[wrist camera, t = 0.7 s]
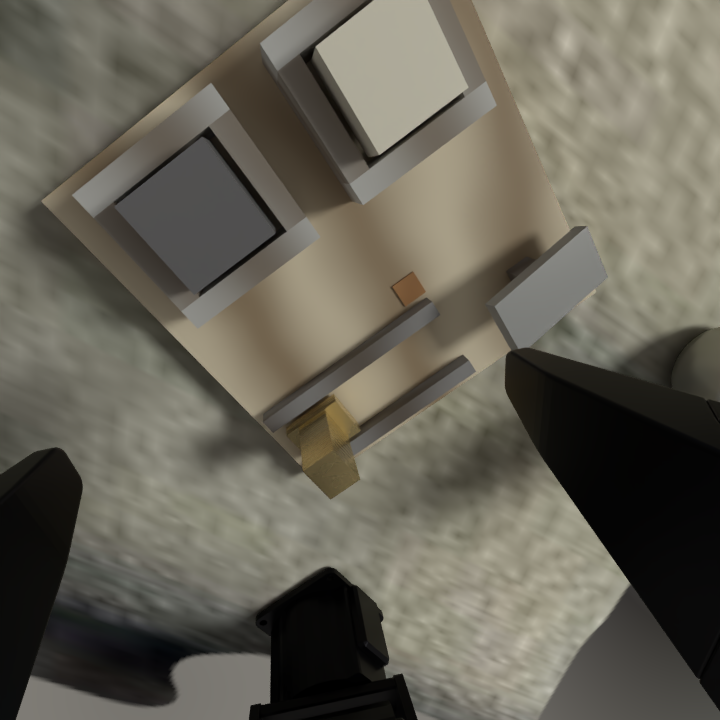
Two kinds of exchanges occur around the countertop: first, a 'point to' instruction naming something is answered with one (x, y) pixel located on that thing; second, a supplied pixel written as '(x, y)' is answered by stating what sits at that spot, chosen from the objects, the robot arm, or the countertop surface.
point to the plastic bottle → (699, 367)
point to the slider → (327, 445)
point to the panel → (335, 228)
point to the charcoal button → (197, 216)
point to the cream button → (388, 70)
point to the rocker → (547, 289)
